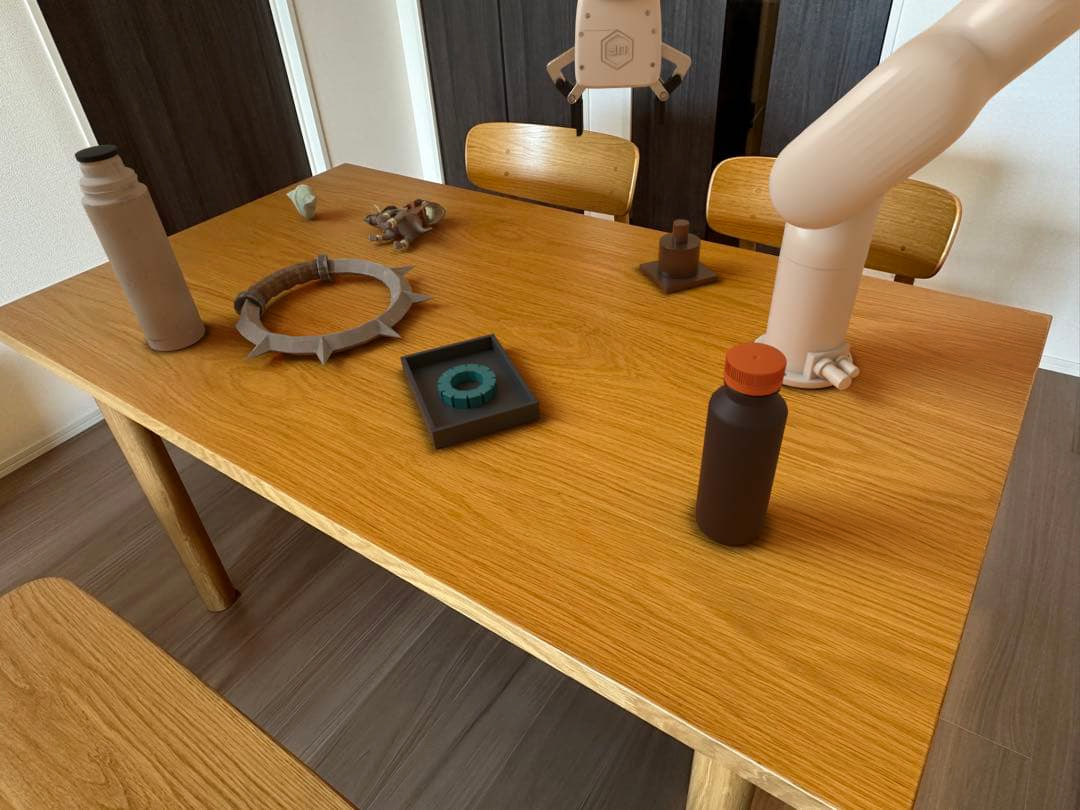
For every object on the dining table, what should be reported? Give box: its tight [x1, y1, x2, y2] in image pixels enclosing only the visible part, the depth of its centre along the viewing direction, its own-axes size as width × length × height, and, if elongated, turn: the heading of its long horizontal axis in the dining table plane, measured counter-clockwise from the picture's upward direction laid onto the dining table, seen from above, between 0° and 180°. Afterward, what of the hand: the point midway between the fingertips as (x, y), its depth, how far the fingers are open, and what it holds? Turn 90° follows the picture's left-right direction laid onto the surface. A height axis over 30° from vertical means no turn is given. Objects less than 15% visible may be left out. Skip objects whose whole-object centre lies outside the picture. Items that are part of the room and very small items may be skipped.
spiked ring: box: [233, 253, 437, 367], centre depth 106 cm, size 33×4×30 cm
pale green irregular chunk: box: [286, 183, 318, 220], centre depth 136 cm, size 8×4×7 cm, turn 52°
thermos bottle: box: [74, 144, 206, 352], centre depth 96 cm, size 8×8×28 cm
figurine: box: [362, 198, 447, 250], centre depth 129 cm, size 20×6×17 cm
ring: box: [437, 364, 498, 408], centre depth 89 cm, size 7×7×2 cm
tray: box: [399, 333, 541, 450], centre depth 89 cm, size 17×13×3 cm
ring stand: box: [639, 218, 718, 295], centre depth 109 cm, size 9×9×9 cm
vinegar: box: [694, 341, 789, 546], centre depth 64 cm, size 7×7×20 cm
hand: (617, 132), depth 89 cm, fingers open, 9 cm apart
